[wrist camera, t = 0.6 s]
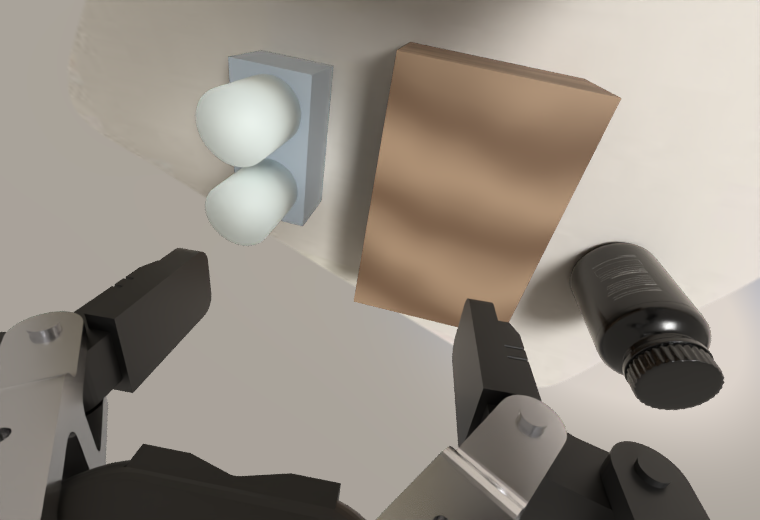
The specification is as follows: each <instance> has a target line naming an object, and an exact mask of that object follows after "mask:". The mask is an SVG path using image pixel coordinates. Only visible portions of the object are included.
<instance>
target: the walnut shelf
mask: <svg viewBox="0 0 760 520" xmlns="http://www.w3.org/2000/svg"><path fill="white" fill-rule="evenodd" d="M620 100H621V98H620V97H618V96H616V95H614V94H612V93H610V92H608V91H606V90H605V89H603V88H601V87H599V86H597V85H595V84H593V83H591V82H589V81H587V80H585V79H583V78H578V77H573V76H568V75H564V74H559V73H554V72H549V71H545V70H540V69H535V68H531V67H526V66H521V65H516V64H512V63H507V62H502V61H498V60H493V59H488V58H483V57H479V56H474V55H469V54H464V53H460V52H455V51H450V50H446V49H441V48H436V47H431V46H427V45H422V44H417V43H413V42H410V43H408V44H406V45H405V46H403V47H401V48H400V49H398V50H397V52H396V58H395V64H394V69H393V75H392V81H391V87H390V93H389V99H388V104H387V110H386V116H385V122H384V128H383V134H382V139H381V145H380V151H379V157H378V163H377V169H376V174H375V180H374V186H373V192H372V198H371V204H370V209H369V215H368V221H367V227H366V233H365V239H364V244H363V250H362V256H361V262H360V268H359V274H358V279H357V285H356V291H355V298H354V302H358V303H362V304H366V305H370V306H375V307H378V308H382V309H386V310H390V311H394V312H398V313H402V314H406V315H411V316H415V317H419V318H423V319H427V320H431V321H435V322H439V323H443V324H447V325H451V326H455V327H458V326H459V322H460V318H461V315H462V311H463V307H464V304H465V301H466V299H467V298H469V299H475V300H481V301H486V302H492V303H493V304H494V307H495V311H496V315H497V319H498V321H503V322H509V321H510V319H511V317H512V315H513V313H514V311H515V309H516V307H517V305H518V303H519V301H520V299H521V297H522V295H523V293H524V291H525V289H526V287H527V285H528V283H529V281H530V279H531V277H532V275H533V273H534V271H535V269H536V267H537V265H538V263H539V261H540V259H541V257H542V255H543V253H544V251H545V249H546V247H547V245H548V243H549V241H550V239H551V237H552V235H553V233H554V231H555V229H556V227H557V225H558V223H559V221H560V219H561V217H562V215H563V213H564V211H565V209H566V207H567V205H568V203H569V201H570V199H571V197H572V195H573V193H574V191H575V189H576V187H577V185H578V183H579V181H580V179H581V177H582V175H583V173H584V171H585V169H586V167H587V166H588V164H589V162H590V160H591V158H592V156H593V154H594V152H595V150H596V148H597V146H598V144H599V142H600V140H601V138H602V136H603V134H604V132H605V130H606V128H607V126H608V124H609V122H610V120H611V118H612V116H613V114H614V112H615V110H616V108H617V106H618V104H619V102H620Z"/></svg>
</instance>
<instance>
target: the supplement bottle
mask: <svg viewBox="0 0 760 520" xmlns="http://www.w3.org/2000/svg"><path fill="white" fill-rule="evenodd" d="M570 285H571V289H572V292H573V295H574V297H575V300H576V302H577V305H578V307H579V309H580V312H581V314H582V316H583V319H584V321H585V323H586V326H587V328H588V331H589V333H590V335H591V338H592V340H593V342H594V345H595V347H596V349H597V352H598V354H599V356H600V357H601V359H602V360H603V362H604V363H605V364H606V365H607V366H609V367H610V368H611V369H613V370H614V371H616V372H617V373H619V374H622V375H624V376H625V378H626V380H627V382H628V383H629V384H630V386H631V388H632V391H633V392H634V394H635V396H636V397H637V399H639V400H640V402H642V403H644V404H645V405H647V406H651V407H652V408H658V409H665V410H678V409H685V408H691V407H694V406H697V405H701V404H702V403H704V402H707V401H708V400H709V399H711V398H713V397H714V396H715V395H716V394H717V393H719V391H720V389H722V385H723V384H724V381H723V379H724V376H723V374H722V371H721V369H720V368H719V367H718V365H717V364H716V362H715V361H714V359H713V356H712V354H711V353H710V351H709V350H708V349H709V347H710V343H711V331H710V327H709V325H708V323H707V322H706V320H705V319H704V317H703V316H702V314H701V313H700V312H699V311H698V309H697V308H696V307H695V306H694V304H693V303H692V302H691V301H690V300H689V298H688V297H687V296H686V295H685V293H684V292H683V291H682V290H681V288H680V287H679V286H678V285H677V284H676V282H675V281H674V280H673V279H672V277H671V276H670V275H669V274H668V273H667V271H666V270H665V269H664V268H663V266H662V265H661V264H660V263H659V262H658V260H657V259H656V258H655V257H654V256H653V255H652V254H651V253H650V252H649V251H648V250H646V249H644V248H642V247H640V246H637V245H634V244H629V243H614V244H608V245H604V246H601V247H598V248H596V249H594V250H592V251H590V252H589V253H587V254H586V255H584V256H583V257H582V258H581V259H580V260H579V261H578V262H577V264H576V265H575V267H574V268H573V270H572V273H571V277H570Z"/></svg>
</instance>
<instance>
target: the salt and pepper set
mask: <svg viewBox="0 0 760 520" xmlns="http://www.w3.org/2000/svg"><path fill="white" fill-rule="evenodd" d="M228 61H229V79H230V83H228V84H225V85H221V86H218V87H215V88H212V89H210V90H208V91H207V92H206V93H204V95H203V96H202V97H201V98H200V100H199V102H198V105H197V109H196V124H197V128H198V132H199V134H200V137H201V138H202V140H203V142H204V144H205V145H206V147H207V148H208V149H209V150H210V151H211V152H212V153H213V154H214V155H215V156H216V157H217V158H219V159H220V160H221V161H223V162H225V163H227V164H229V165H232V166H234V174H233V175H231V176H230V177H229V178H227V179H226V180H224V181H223V182H222V183H220V184H219V185H217V186H216V187H215V188H213V189H212V190H211V191H210V192H209V194H208V195H207V198H206V202H205V210H206V214H207V217H208V220H209V222H210V223H211V225H212V226H213V228H214V229H215V230H216V231H217V232H218V233H219V234H220V235H221V236H222V237H224V238H225V239H227V240H229V241H230V242H233V243H235V244H238V245H243V246H252V245H256V244H259V243H260V242H262V241H263V240H264V239H265V238H266V237H267V236H268V235H269V234H270V232H271V231H272V230H273V229H274V228H275V227H276V225H277V224H278V223H279V222H280V221H284V222H288V223H292V224H296V225H300V226H303V225H304V224H305V222H306V221H307V220H308V218H309V217H310V216H311V214H312V213H313V211H314V210H315V209H316V207H317V206H318V205H319V203H320V202H321V200H322V188H323V177H324V166H325V155H326V143H327V132H328V121H329V110H330V98H331V87H332V76H333V66H332V65H327V64H322V63H318V62H313V61H309V60H304V59H299V58H295V57H290V56H286V55H281V54H276V53H272V52H267V51H262V50H261V51H255V52H250V53H245V54H240V55H234V56H229V57H228Z"/></svg>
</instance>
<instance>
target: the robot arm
mask: <svg viewBox="0 0 760 520" xmlns="http://www.w3.org/2000/svg"><path fill="white" fill-rule="evenodd" d="M210 302H211V288H210V278H209V267H208V259H207V256H206V254H205V253H204V252H200V251H194V250H188V249H182V248H177V249H175V250H174V251H172V252H171V253H169V254H168V255H166V256H165V257H164V258H162V259H161V260H159V261H155V262H153V263H150V264H148V265H145V266H142V267H139V268H138V269H137V270H135V271H134V272H132V273H131V274H129V275H128V276H126V279H122V280H120V281H119V282H118V283H116V284H115V286H114V287H113V286H112V287H110V288H109V289H107V290H106V291H104V292H103V293H101V294H100V295H98V296H97V297H96V298H94V299H93V300H91V301H89V302H88V303H87V304H85V305H84V306H82V307H81V308H79V309H78V310H76V311H75V312H66V311H59V312H49V313H44V314H40V315H36V316H33V317H30V318H28V319H26V320H23V321H21V322H19V323H18V324H16V325H15V326H13V327H12V328H10V329H9V330H8V331H7V332H0V520H365V519H364V518H363V517H362V516H361V515H360V514H359V513H358V512H356V511H355V510H353V509H352V508H351V507H349V506H348V505H346V504H344V503H342V502H340V501H339V493H340V485H341V484H340V483H336V482H331V481H326V480H321V479H316V478H311V477H306V476H301V475H296V474H273V475H255V476H233V475H230V474H228V473H226V472H224V471H223V470H221V469H219V468H217V467H215V466H213V465H211V464H210V463H208V462H206V461H204V460H202V459H200V458H198V457H196V456H195V455H193V454H191V453H187V452H182V451H176V450H172V449H166V448H161V447H157V446H152V445H147V444H143V445H142V446H141V447H140V448H139V450H138V451H137V452H136V454H135V455H134V456H133V457H132V459H131V460H128V461H121V462H115V463H111V464H106V442H107V416H108V402H107V398H106V395H107V394H108V393H109V392H110V391H111V390H112V389H115V390H120V391H125V392H131V393H133V392H134V391H135V390H136V389H137V388H138V387H139V386H140V385H141V384H142V382H143V381H144V380H145V379H146V378H147V377H148V376H149V375H150V374H151V373H152V372H153V370H154V369H155V368H156V367H157V366H158V365H159V364H160V363H161V362H162V361H163V360H164V358H166V356H167V355H168V354H169V353H170V352H171V351H172V350H173V349H174V348H175V347H176V346H177V344H178V343H179V342H180V341H181V340H182V339H183V338H184V337H185V336H186V335H187V334H188V333H189V332H190V330H191V329H192V328H193V327H194V326H195V325H196V324H197V323H198V322H199V321H200V319H202V317H203V316H204V315H205V314H206V312H207V311H208V309H209V306H210ZM452 355H453V356H452V363H453V377H454V391H455V404H456V420H457V433H458V448H457V449H456V450H455V449H454V448H453V447H451V446H449V447H447V448H446V449H444V450H443V451H442V452H441V453H440V454H439V455H438V456H437V457H436V458H435V459H434V460H433V461H432V462H431V463H430V464H429V465H428V466H427V467H426V468H425V469H424V470H423V471H422V472H421V474H419V476H417V478H416V479H415V480H414V481H413V482H412V483H411V484H410V485H409V486H408V487H407V488H406V489H405V490H404V491H403V492H402V493H401V494H400V495H399V496H398V497H397V498H396V499H395V500H394V501H393V502H392V503H391V504H390V505H389V506H388V507H387V509H385V510H384V511H383V512H382V513H381V515H380V516H379V517H378V518H377V519H376V520H710V519H709V517H708V515H707V514H706V512H705V510H704V508H703V506H702V505H701V503H700V501H699V499H698V498H697V496H696V494H695V492H694V491H693V489H692V487H691V485H690V483H689V482H688V480H687V479H686V477H685V476H684V475H683V473H682V472H681V471H680V470H679V469H678V468H677V467H676V466H675V465H674V464H673V463H672V462H671V461H670V460H668V459H667V458H666V457H664V456H663V455H661V454H660V453H659V452H657V451H655V450H653V449H651V448H649V447H647V446H645V445H643V444H639V443H636V442H630V441H624V442H619V443H617V444H615V445H614V446H613V448H612V449H611V451H610V452H607V451H604V450H602V449H600V448H598V447H595V446H593V445H591V444H589V443H586V442H584V441H582V440H580V439H578V438H576V437H574V436H572V435H570V434H569V433H567V431H566V428H565V425H564V423H563V421H562V420H561V418H560V417H559V416H558V414H557V413H556V412H555V411H554V410H553V409H551V408H550V407H549V406H548V405H546V404H545V403H543V402H542V401H541V398H540V395H539V392H538V389H537V386H536V383H535V380H534V377H533V374H532V371H531V368H530V365H529V362H527V360H528V358H527V355H526V352H525V351H524V346H523V343H522V340H521V337H520V335H519V334H518V332H517V331H516V330H515V329H514V328H513V327H512V326H511V324H510V323H509V322H503V321H498V319H497V315H496V311H495V307H494V304H493V303H492V302H486V301H481V300H475V299H469V298H467V299H466V301H465V304H464V307H463V311H462V315H461V318H460V322H459V326H458V329H457V333H456V336H455V340H454V345H453V354H452Z"/></svg>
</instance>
